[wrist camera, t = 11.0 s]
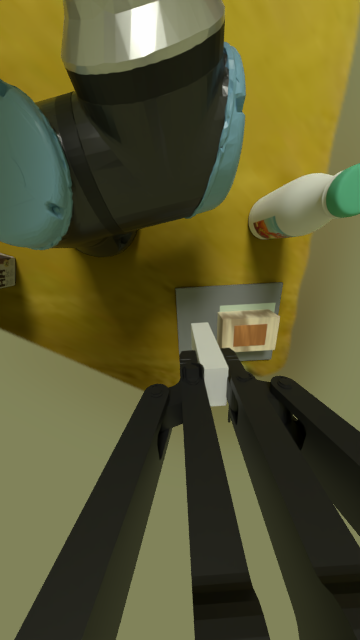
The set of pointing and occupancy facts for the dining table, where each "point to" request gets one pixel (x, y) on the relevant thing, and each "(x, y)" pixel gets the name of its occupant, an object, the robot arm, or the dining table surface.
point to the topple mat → (223, 309)
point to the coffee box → (7, 271)
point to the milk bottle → (306, 204)
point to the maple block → (247, 330)
